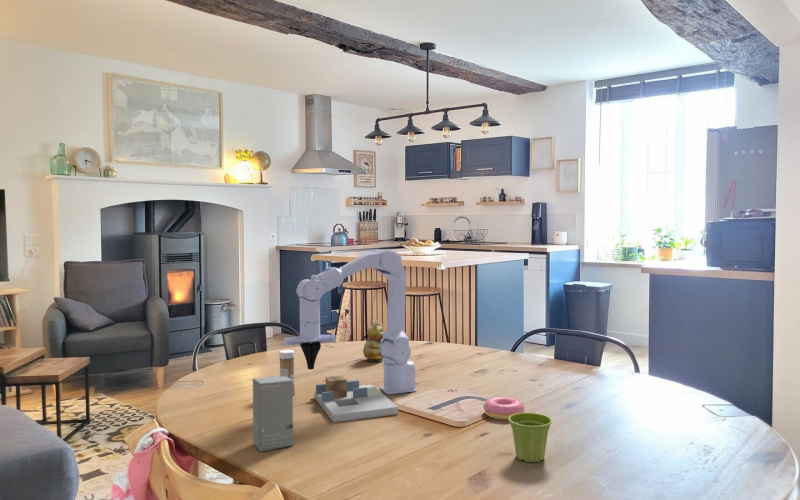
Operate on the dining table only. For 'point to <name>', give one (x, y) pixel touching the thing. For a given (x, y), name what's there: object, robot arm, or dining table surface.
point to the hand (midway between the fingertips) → (310, 368)
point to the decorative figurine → (374, 342)
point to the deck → (355, 402)
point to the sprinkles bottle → (287, 365)
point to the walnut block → (337, 386)
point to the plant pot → (530, 435)
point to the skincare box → (272, 412)
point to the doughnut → (502, 407)
